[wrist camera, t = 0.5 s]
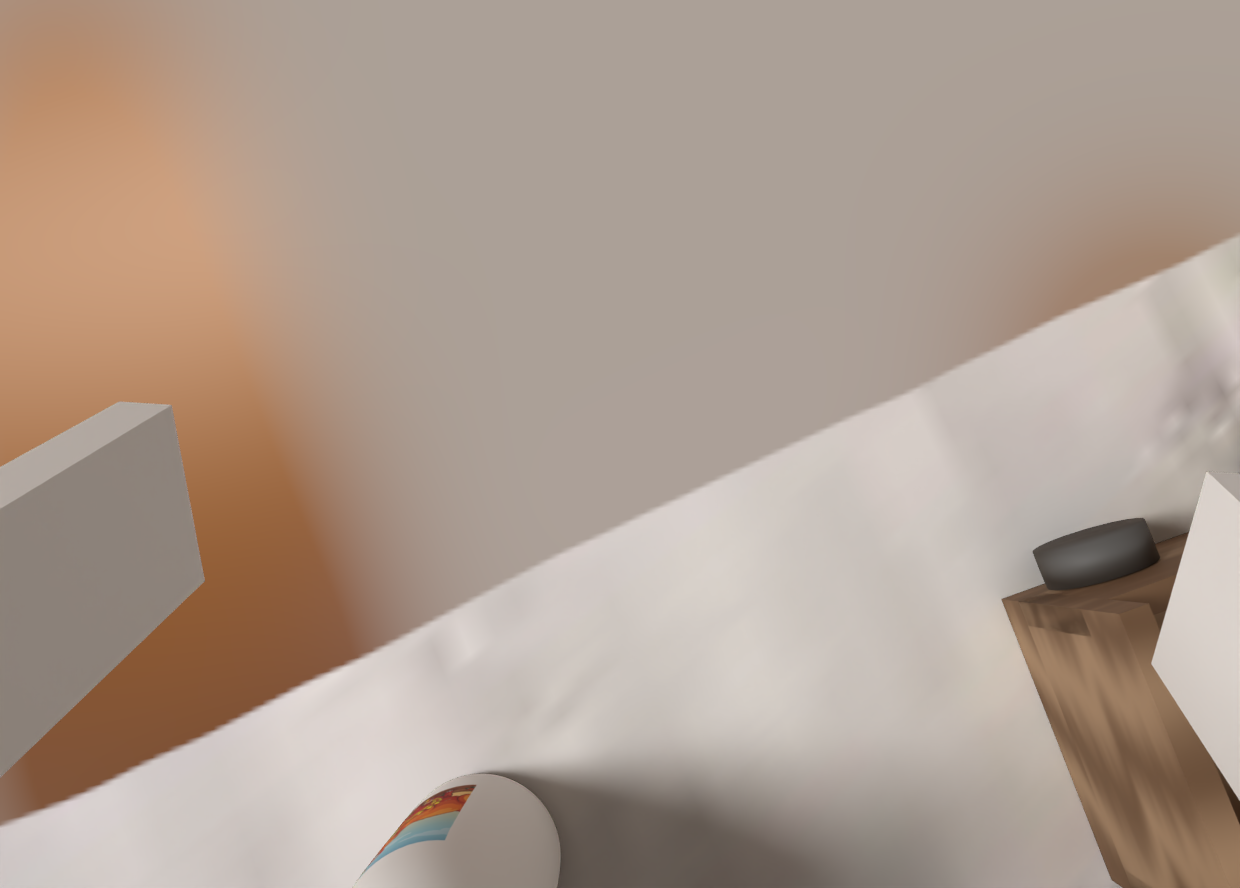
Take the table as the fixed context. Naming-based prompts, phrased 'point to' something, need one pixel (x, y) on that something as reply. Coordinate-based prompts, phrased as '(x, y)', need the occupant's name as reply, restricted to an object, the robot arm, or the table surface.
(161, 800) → the table surface
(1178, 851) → the tray
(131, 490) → the robot arm
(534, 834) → the milk bottle
